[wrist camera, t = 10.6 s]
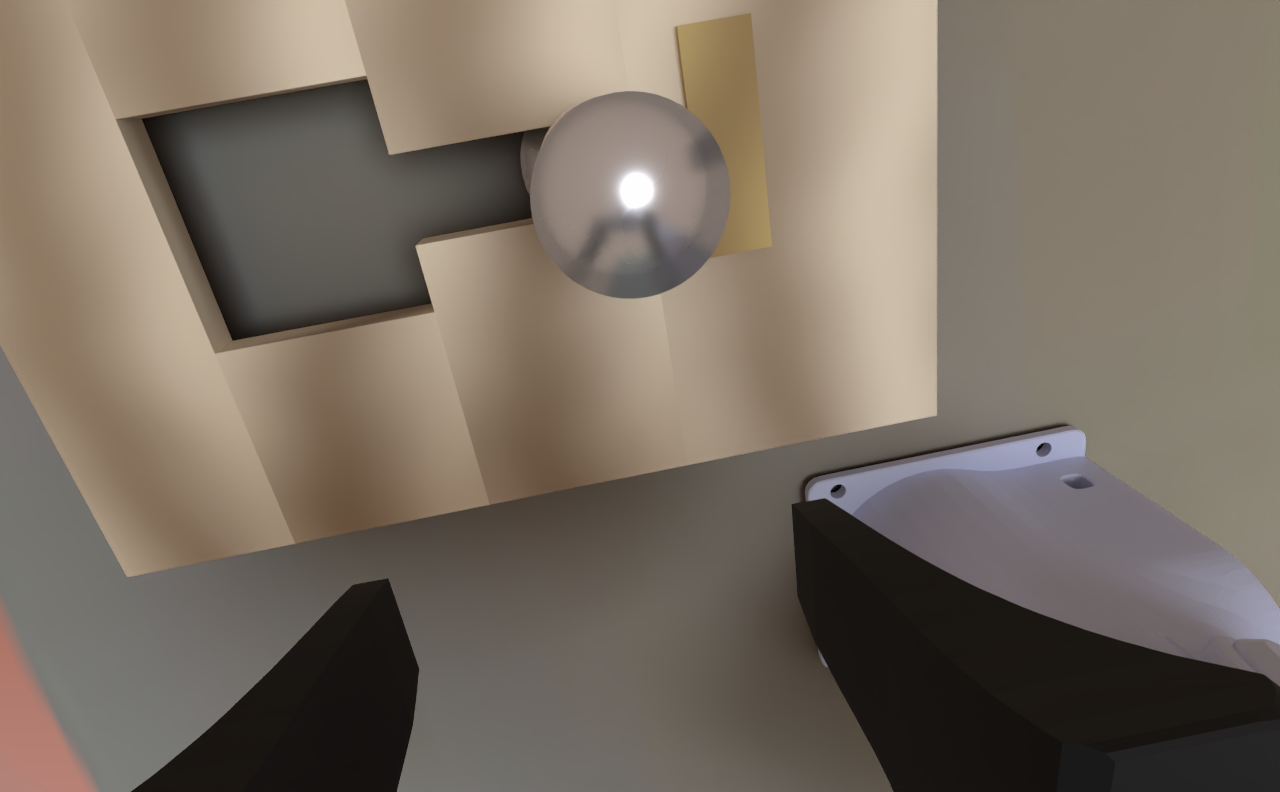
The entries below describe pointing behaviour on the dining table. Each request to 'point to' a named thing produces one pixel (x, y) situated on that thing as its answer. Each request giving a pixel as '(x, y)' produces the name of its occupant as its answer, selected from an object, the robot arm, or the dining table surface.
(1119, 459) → the dining table surface
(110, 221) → the keyhole plate
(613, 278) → the peg
